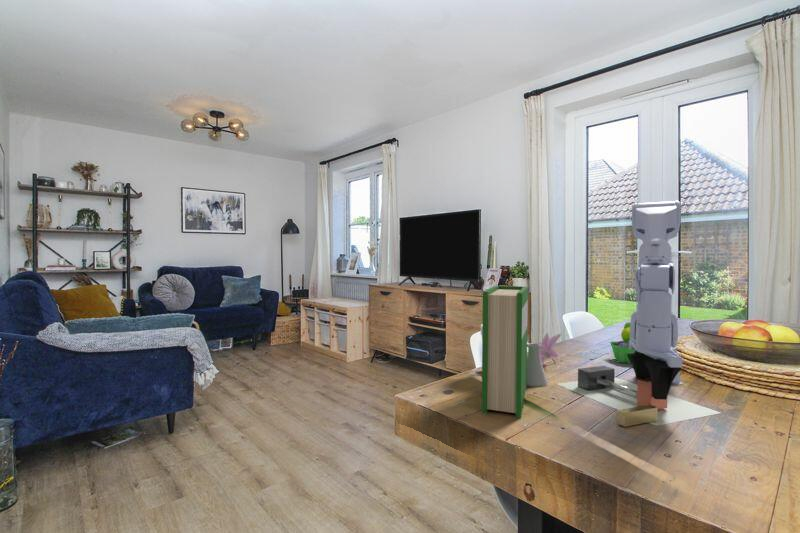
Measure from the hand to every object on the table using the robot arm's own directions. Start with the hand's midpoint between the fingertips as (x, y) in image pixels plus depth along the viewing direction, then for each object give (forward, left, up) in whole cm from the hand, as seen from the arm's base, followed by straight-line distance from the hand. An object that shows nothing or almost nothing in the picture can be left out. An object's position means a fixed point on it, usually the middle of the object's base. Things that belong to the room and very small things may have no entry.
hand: (652, 394), depth 79 cm
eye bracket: (0, -14, -3) cm, 14 cm away
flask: (+11, -22, -4) cm, 25 cm away
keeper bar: (+9, +4, -3) cm, 10 cm away
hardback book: (+23, -16, -4) cm, 28 cm away
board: (-2, -6, -4) cm, 8 cm away
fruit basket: (-32, -31, -4) cm, 45 cm away
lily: (-2, -34, -4) cm, 34 cm away
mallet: (0, -7, -3) cm, 7 cm away
